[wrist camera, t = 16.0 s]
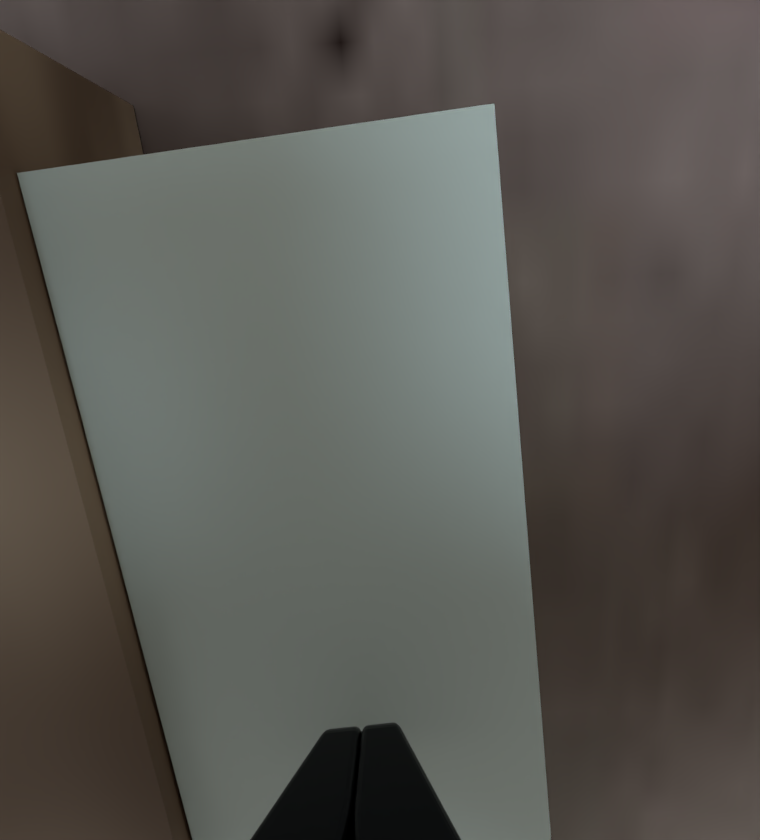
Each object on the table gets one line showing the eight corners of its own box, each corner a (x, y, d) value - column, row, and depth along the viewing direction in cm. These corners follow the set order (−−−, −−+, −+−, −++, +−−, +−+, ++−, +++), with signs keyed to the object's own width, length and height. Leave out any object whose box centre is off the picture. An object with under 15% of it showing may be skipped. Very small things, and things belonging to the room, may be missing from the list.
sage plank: (519, 873, 13) (573, 1131, 9) (307, 892, 13) (274, 1151, 10) (451, 161, 10) (494, 103, 6) (163, 203, 10) (16, 173, 6)
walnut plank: (-261, 162, 9) (-742, 96, 5) (133, 105, 9) (-63, -7, 5) (29, 957, 14) (-122, 1255, 10) (306, 933, 13) (272, 1230, 9)
